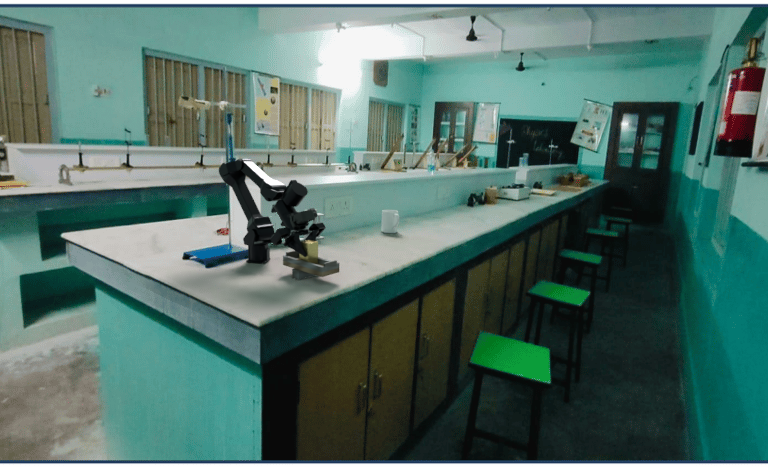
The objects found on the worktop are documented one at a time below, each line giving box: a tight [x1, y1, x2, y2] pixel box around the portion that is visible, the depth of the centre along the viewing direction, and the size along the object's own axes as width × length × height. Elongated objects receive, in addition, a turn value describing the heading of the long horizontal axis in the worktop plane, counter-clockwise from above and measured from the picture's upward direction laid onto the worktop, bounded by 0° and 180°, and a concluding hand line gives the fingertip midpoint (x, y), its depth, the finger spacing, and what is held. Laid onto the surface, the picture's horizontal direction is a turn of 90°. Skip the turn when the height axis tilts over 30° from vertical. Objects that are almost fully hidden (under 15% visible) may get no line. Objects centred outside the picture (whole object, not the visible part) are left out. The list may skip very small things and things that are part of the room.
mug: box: [380, 209, 401, 234], centre depth 216 cm, size 12×8×10 cm, turn 29°
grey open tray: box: [282, 250, 340, 281], centre depth 141 cm, size 18×9×7 cm, turn 52°
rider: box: [299, 240, 319, 264], centre depth 140 cm, size 4×4×7 cm
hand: (311, 254), depth 140 cm, fingers closed on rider, 4 cm apart
